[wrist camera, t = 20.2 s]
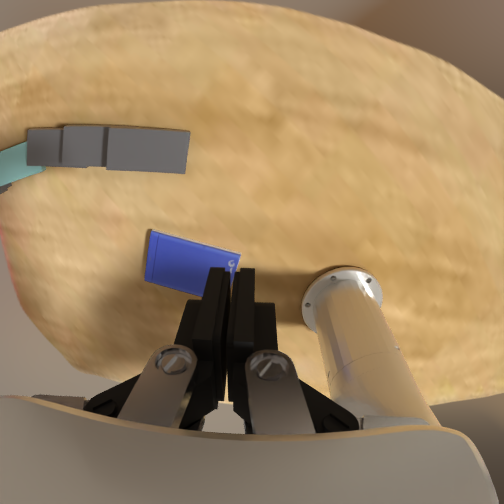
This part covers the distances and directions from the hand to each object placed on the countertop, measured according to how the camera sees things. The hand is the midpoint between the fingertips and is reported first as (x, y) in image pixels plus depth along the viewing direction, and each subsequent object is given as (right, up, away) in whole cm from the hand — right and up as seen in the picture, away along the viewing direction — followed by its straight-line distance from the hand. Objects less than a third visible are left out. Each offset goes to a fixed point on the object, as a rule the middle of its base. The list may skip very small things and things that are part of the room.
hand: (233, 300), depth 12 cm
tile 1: (-7, +14, +23) cm, 27 cm away
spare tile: (-29, +16, +22) cm, 40 cm away
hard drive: (-8, 0, +31) cm, 32 cm away
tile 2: (-13, +15, +22) cm, 30 cm away
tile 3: (-20, +15, +22) cm, 34 cm away
